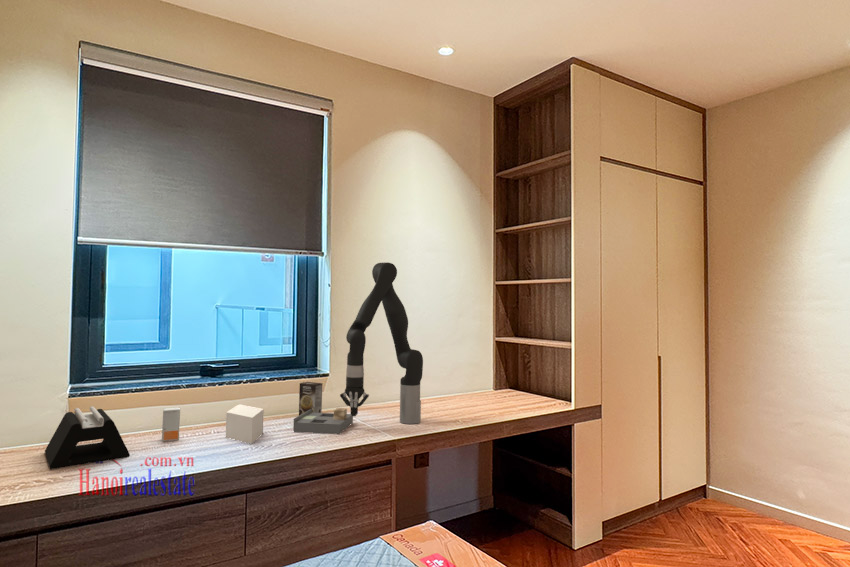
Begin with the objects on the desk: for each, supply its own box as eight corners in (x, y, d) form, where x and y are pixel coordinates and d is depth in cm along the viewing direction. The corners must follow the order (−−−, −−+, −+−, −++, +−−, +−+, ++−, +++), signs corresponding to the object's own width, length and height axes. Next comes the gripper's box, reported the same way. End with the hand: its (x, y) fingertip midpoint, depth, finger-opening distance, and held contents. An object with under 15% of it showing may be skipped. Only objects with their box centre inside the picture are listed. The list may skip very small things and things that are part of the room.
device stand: (49, 470, 162) (51, 422, 162) (44, 453, 179) (46, 410, 180) (129, 457, 176) (131, 414, 177) (118, 443, 193) (119, 403, 194)
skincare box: (161, 441, 195) (162, 410, 196) (161, 439, 199) (162, 408, 200) (179, 440, 198) (180, 409, 199) (179, 437, 202) (180, 407, 202)
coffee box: (298, 417, 240) (298, 383, 240) (306, 414, 246) (306, 381, 246) (314, 419, 236) (315, 384, 237) (322, 416, 242) (322, 382, 243)
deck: (352, 423, 230) (353, 410, 230) (339, 434, 210) (339, 420, 210) (310, 421, 233) (310, 409, 233) (293, 431, 213) (293, 418, 213)
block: (346, 417, 223) (346, 408, 223) (343, 420, 218) (343, 410, 219) (336, 417, 223) (336, 408, 224) (333, 419, 219) (333, 410, 219)
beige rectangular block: (231, 447, 190) (232, 419, 190) (220, 430, 215) (221, 405, 216) (270, 442, 197) (271, 415, 198) (255, 426, 222) (256, 402, 223)
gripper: (337, 376, 218) (336, 417, 217) (367, 377, 216) (367, 418, 215) (342, 373, 225) (341, 413, 224) (371, 374, 223) (371, 414, 223)
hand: (354, 415), depth 220 cm, fingers closed
